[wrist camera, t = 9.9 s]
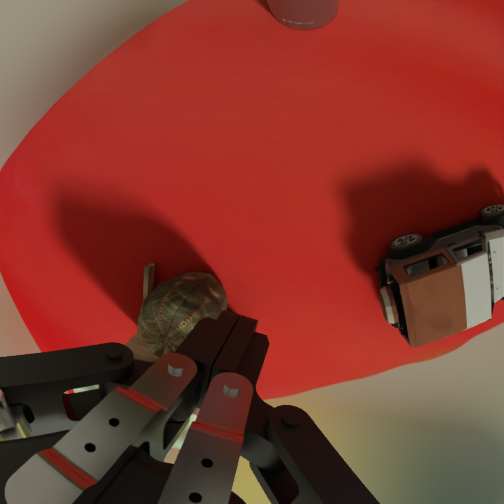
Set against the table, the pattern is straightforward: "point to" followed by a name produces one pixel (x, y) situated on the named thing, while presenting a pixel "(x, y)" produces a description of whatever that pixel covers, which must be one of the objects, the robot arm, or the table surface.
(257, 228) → the table surface
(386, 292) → the toy car
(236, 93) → the table surface
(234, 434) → the robot arm
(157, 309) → the shell
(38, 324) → the table surface
